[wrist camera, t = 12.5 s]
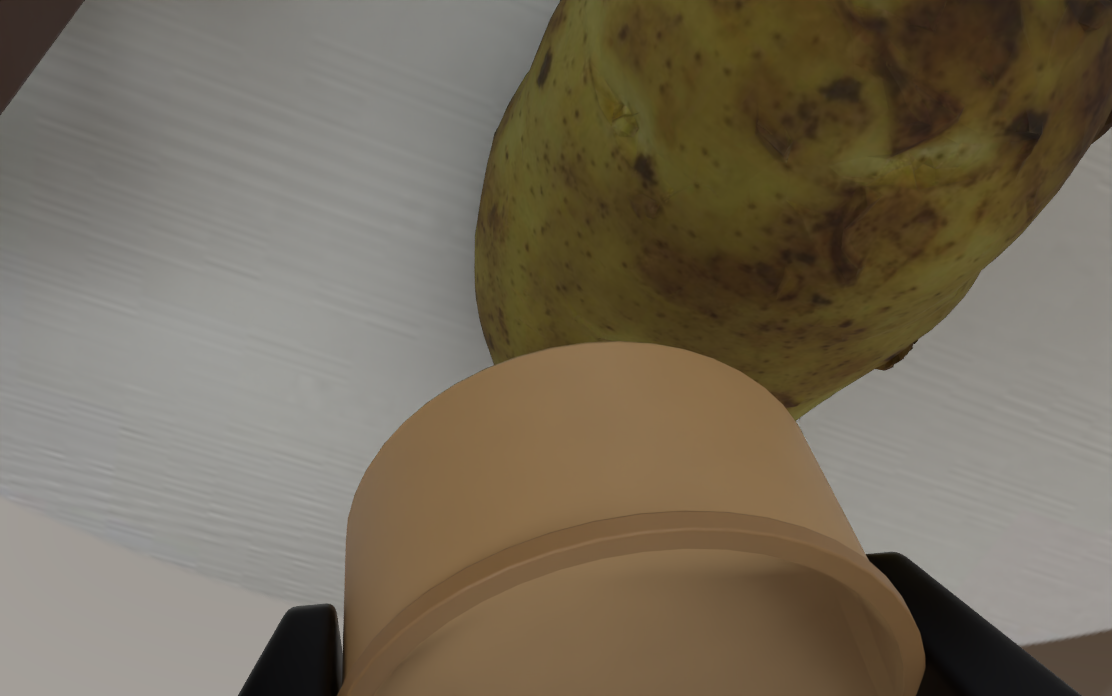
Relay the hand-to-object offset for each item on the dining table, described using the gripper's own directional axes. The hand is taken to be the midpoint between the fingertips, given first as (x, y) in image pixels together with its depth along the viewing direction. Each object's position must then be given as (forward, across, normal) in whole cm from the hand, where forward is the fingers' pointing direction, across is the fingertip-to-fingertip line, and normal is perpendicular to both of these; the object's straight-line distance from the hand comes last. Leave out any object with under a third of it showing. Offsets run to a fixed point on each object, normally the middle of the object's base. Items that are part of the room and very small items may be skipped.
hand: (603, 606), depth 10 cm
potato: (+12, -3, 0) cm, 12 cm away
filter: (+1, 0, 0) cm, 1 cm away
